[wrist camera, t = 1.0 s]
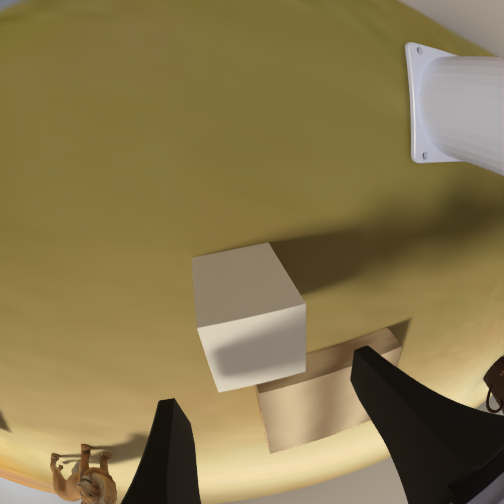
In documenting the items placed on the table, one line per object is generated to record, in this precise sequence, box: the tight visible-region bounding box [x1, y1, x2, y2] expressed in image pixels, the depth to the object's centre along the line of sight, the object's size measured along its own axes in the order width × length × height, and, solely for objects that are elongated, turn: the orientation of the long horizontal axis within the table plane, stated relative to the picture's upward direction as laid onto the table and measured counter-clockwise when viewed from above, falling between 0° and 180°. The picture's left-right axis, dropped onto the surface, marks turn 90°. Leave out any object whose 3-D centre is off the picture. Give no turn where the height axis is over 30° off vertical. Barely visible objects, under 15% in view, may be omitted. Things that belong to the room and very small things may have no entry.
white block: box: [192, 243, 306, 392], centre depth 15 cm, size 4×4×6 cm
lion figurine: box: [50, 444, 117, 504], centre depth 20 cm, size 15×5×9 cm, turn 130°
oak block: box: [255, 328, 402, 453], centre depth 24 cm, size 12×12×3 cm
